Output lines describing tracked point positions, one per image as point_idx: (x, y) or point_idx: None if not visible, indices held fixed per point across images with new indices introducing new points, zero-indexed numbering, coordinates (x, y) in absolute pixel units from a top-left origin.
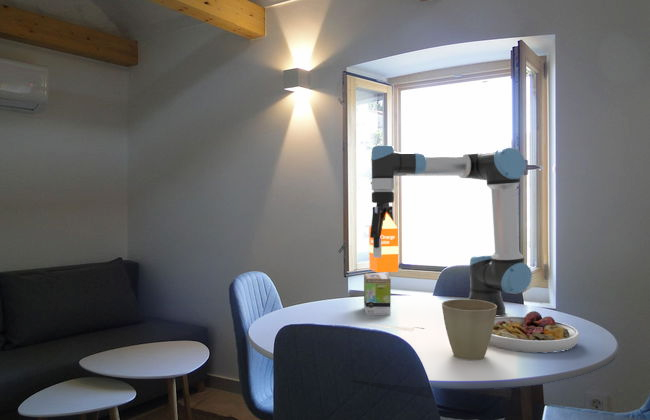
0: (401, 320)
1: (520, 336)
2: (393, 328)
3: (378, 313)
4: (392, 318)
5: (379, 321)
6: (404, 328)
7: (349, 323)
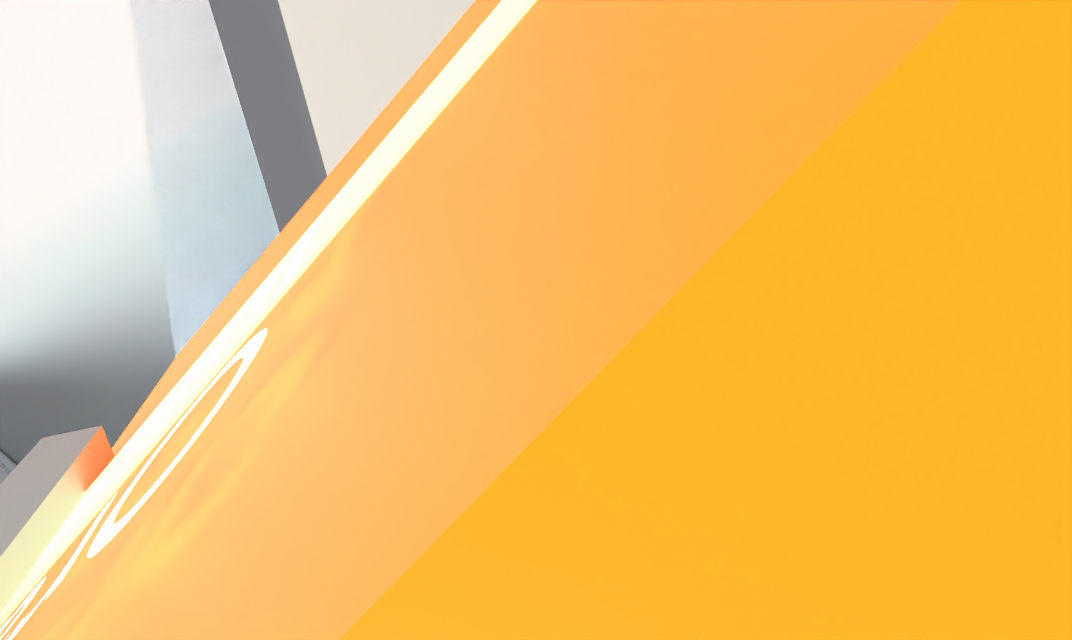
0: (6, 212)
1: None
2: (374, 89)
3: (5, 469)
4: (3, 316)
5: (177, 349)
6: (312, 2)
7: None
